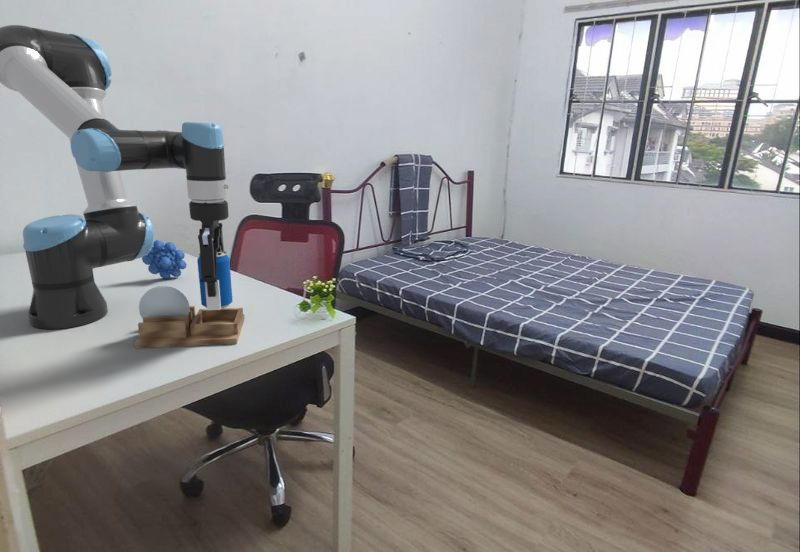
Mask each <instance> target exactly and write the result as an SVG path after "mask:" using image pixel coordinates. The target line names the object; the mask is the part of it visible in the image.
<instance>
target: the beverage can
mask: <svg viewBox="0 0 800 552" xmlns="http://www.w3.org/2000/svg"><path fill="white" fill-rule="evenodd" d="M218 253H221V255H218ZM198 255H199V256H198V257H197V273H198V280H199V282H198V283H199V293H200V294H199V295H200V301H201V302H200V303H201V305H202V306H203V307H205V309H207V302H206V291H205V282H200V279H202V272H201V258H200V253H198ZM230 261H231V260H230V257H229V256H228V253H227V251H225V250H224V251H220V252H217V278H218V280H219V289H220V302H221V309H222V308H228V307H229V306H230V305H231V304H232V303H233V290H232V289H233V288H232V277H231V275H232V274H231V262H230Z"/></svg>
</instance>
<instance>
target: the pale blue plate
mask: <svg viewBox="0 0 800 552" xmlns="http://www.w3.org/2000/svg"><path fill="white" fill-rule="evenodd" d="M190 306H191V305H190V303H189V300H188V298H187V297H186V296H185V294H184V293H183V292H181V291H180V290H179V289H177V288H175V287H173V286H168V285H158V286H154V287H152V288H150V289H149V290H147V291H146V292H144V294H143V295H142V296H141V298H140V300H139V304H138V310H139V311H138V312H139V314H140V317H141V319H143V318H144V317H163V316H188V315H189V311H190Z"/></svg>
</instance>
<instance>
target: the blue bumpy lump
mask: <svg viewBox="0 0 800 552" xmlns="http://www.w3.org/2000/svg"><path fill="white" fill-rule="evenodd" d="M185 256H186V255H185V252H184V251H182V250H181V249H177V246H176V244H175V243H173V242H171V241H167V242H166V243H164V242H163V241H162V240H159V239H155V240H154V243H153V246H152V248H151V250H150V252H149V253H148V254H147V255H146V256H144V257H142V258H141V261H142V263H144V264H145V266H146V265H147V266H148V268H147V269H148V272H149V273H150V274H152V275H157V274H159V276H160V277H161V278H162V279H165V280H168V279H169V278H171V276H173V277H174V278H178V277H180V276H181V275H182V271H181V270H184V269H186V268H187V266H188V265H187V263H186V261H185V260H184V259H185Z"/></svg>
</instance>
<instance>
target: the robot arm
mask: <svg viewBox="0 0 800 552" xmlns="http://www.w3.org/2000/svg"><path fill="white" fill-rule="evenodd" d="M112 74H113V73H112V67H111V64H110V60H109V58H108V57H107V54H106V53H105V50H103V48H102V46H100V45H99V44H97V43H96V42H95V41H94V40H92V39H90V38H87V37H84V36H79V35H77V34H74V33H73V34H72V33H66V32H65V33H64V32H58V31H53V30H48V29H43V28H37V27H31V26H26V25H21V24H14V25H13V24H10V25H4V26H1V27H0V84H1V85H3V86H4V87H5V88H6V89H9V90H12V91H14V92H18V94H19V95H21V96H22V97H23V99H25V100H27V102H29V103H30V104H31V105H32V106H33V107H34V108H36V110H38V111H39V113H41V114H42V115H43V116H44V117H45V118H46V119H48V120H49V121H50V123H52V124H53V125H54V126H55V127H56V128H57V129H58V130H59V131H60V132H61V133H63V134H64V136H66V137H67V138H68V139H69V142H70V150H71V155H72V157H73V158H74V161H75V165H76V166H77V170H78V174H79V178H80V180H81V185H82V189H83V193H84V195H85V198H86V202H87V206H86V208H85V209H84V211H83V212H82V213H83V216H82V215H80V214H63V215H52V216H48V217H44V218H39V219H37V220H34V221H31V222H29V223H28V224H26V225H25V227H24V228H23V230H22V237H23V238H22V239H23V249H24V251H25V256H26V261H27V265H28V270H29V275H30V280H31V284H32V288H33V289H32V290H33V291H32V295H31V300H30V305H29V310H28V319H29V323H30V326H32V327H34V328H36V329H44V330H45V329H46V330H60V329H68V328H75V327H80V326H83V325H84V326H85V325H87V324H91V323H94V322H95V321H98V320H100V319H102V318H104V317H105V316H106V315H107V314H108V311H109V310H108V309H109V308H108V303H107V301H106V299H105V298H104V296H103V294H102V292H101V290H100V289H99V287H98V285H97V284H96V282H95V277H94V269H97V268H101V267H102V268H103V267H106V266H107V267H108V266H111V265H116V264H120V263H124V262H133V261H135V260H137V259H138V260H139V259H140V258H141V259H142V257H144V256H146V255H147V254H148V253H149V252H150V250H151V248H152V246H153V243H154V241H155V230H154V229H155V228H154V226H153V223H152V220H151V219H149V216H147V214H145V213H144V212H139V210H138V206H137V204H135V203H133V202H132V201H130V200H129V199H128V195H127V192H126V187H125V184H124V179H123V177H122V173H121V172H122V171H134V170H135V171H137V170H159V169H179V170H185V173H186V176H185V177H186V186H187V187H186V188H187V197H188V199H189V200H191V201H189V202H188V207H189V216H190V219H191V220H192V221H197V222H199V221H200V222H201V228H199V231H198V233H199V234H198V236H197V239H198V244H199V254H200V258H201V272H202V279H200V282H205V291H206V302H207V308H206V309H207V310H221V302H220V289H219V280H218V278H217V252H220V251H225V247H224V246H225V245H224V236H223V223H222V222H220V221H224V220H227V219H228V218H229V214H230V213H229V204H228V201H227V200H225V199H227V198H228V195H227V194H228V192H227V189H230V184H228V183H227V180H226V178H227V176H226V163H225V162H226V161H225V160H226V158H225V142H224V138H223V129H222V127H221V125H220V124H218V123H215V122H212V123H211V122H195V121H194V122H193V121H192V122H191V121H188V122H187V121H186V122H183V123H182V124H181V131H173V130H172V131H169V130H160V129H159V130H137V129H136V130H135V129H133V130H131V129H130V130H129V129H119V128H117V126H115V125H114V124H113V123H111V121H110V120H108V119H107V117H106V114H105V111H104V107H103V103H102V102H103V101H102V100H103V99H104V98H105V97H106V96H107V90H108V88H109V87H110V85H111V83H112V78H111V77H112ZM218 255H221V253H218Z"/></svg>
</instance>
